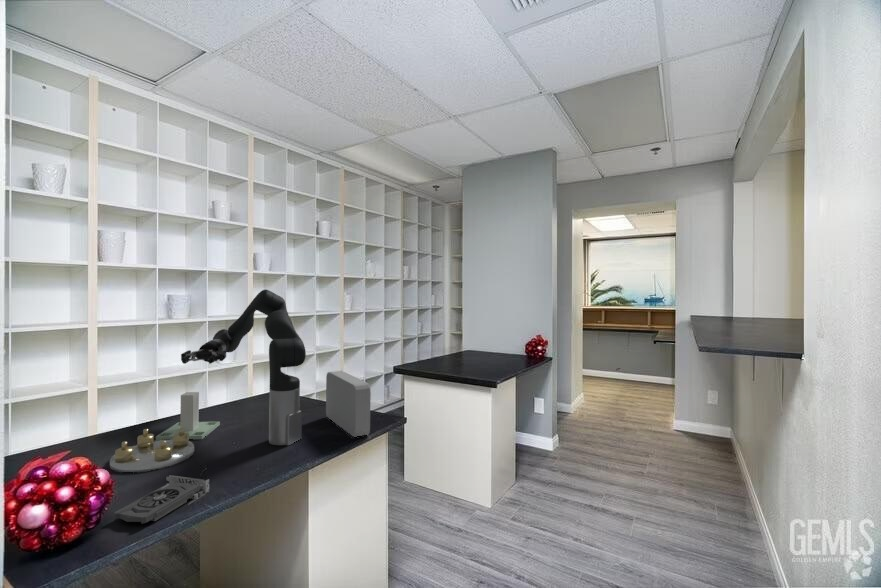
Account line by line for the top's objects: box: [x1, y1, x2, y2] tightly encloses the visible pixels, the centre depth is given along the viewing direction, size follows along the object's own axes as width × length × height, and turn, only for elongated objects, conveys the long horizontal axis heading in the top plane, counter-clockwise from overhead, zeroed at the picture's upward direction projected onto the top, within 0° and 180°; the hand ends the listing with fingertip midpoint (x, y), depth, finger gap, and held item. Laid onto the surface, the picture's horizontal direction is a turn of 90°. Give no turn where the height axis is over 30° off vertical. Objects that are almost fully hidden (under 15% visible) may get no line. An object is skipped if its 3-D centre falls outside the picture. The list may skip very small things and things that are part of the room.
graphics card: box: [114, 475, 210, 525], centre depth 93 cm, size 17×4×12 cm
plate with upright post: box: [155, 391, 221, 441], centre depth 139 cm, size 14×14×13 cm
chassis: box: [109, 428, 195, 474], centre depth 119 cm, size 20×20×6 cm
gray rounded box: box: [325, 370, 372, 438], centre depth 148 cm, size 29×8×18 cm, turn 35°
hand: (196, 360), depth 147 cm, fingers open, 8 cm apart
